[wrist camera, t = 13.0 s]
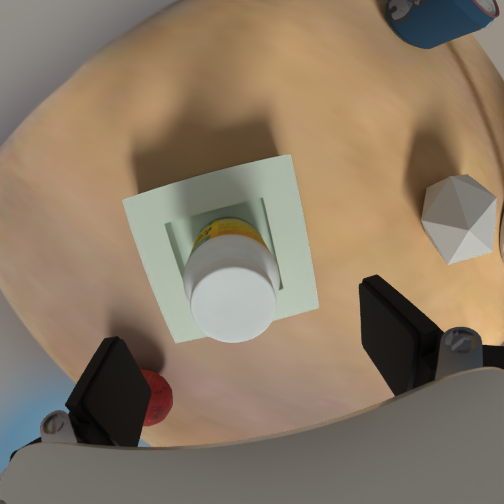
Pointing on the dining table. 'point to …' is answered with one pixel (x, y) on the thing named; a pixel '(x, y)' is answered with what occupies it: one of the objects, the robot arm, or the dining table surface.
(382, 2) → the dining table surface
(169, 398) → the onion
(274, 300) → the supplement bottle
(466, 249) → the die
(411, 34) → the soda can
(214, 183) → the sage block
